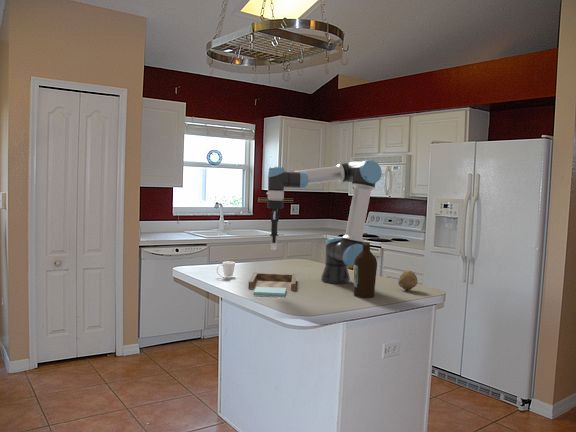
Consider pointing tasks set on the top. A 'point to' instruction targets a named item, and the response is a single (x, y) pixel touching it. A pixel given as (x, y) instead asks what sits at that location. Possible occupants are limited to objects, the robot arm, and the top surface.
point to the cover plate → (269, 291)
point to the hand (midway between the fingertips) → (273, 249)
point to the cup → (227, 269)
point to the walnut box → (273, 281)
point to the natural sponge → (407, 280)
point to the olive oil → (365, 273)
